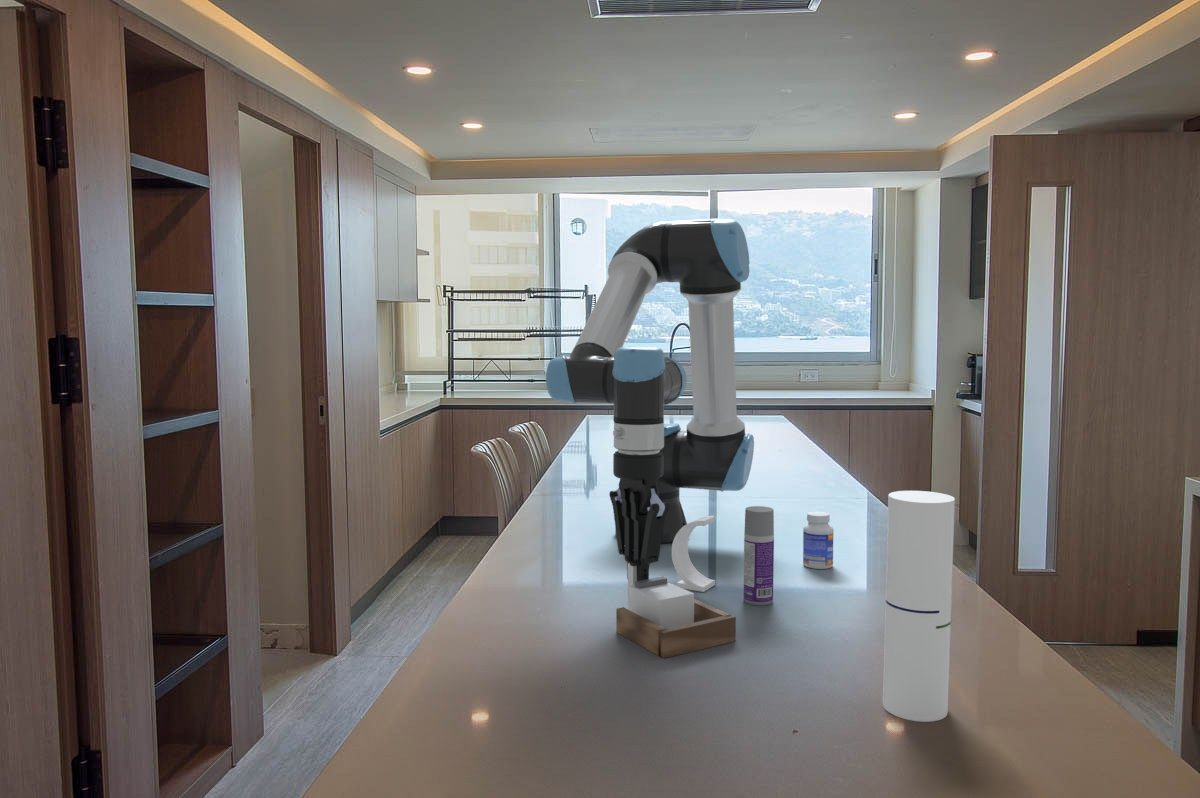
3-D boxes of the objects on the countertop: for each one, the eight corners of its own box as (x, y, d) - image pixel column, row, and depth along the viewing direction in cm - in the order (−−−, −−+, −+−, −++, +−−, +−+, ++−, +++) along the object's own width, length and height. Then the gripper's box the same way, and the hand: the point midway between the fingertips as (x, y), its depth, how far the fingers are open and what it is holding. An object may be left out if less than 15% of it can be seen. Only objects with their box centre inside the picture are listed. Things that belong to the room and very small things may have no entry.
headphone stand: (703, 592, 149) (704, 521, 148) (671, 586, 152) (671, 516, 151) (715, 585, 153) (715, 515, 152) (683, 579, 156) (683, 511, 155)
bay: (616, 632, 130) (616, 608, 130) (685, 617, 136) (685, 594, 136) (663, 658, 120) (663, 632, 120) (735, 641, 126) (735, 616, 126)
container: (774, 597, 146) (776, 507, 144) (770, 606, 141) (772, 513, 140) (746, 595, 147) (747, 505, 146) (741, 603, 143) (742, 511, 141)
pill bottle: (833, 570, 161) (834, 517, 161) (802, 568, 163) (803, 516, 162) (832, 562, 167) (833, 511, 166) (802, 561, 168) (803, 509, 167)
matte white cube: (628, 625, 133) (628, 580, 132) (661, 618, 136) (661, 574, 135) (659, 641, 126) (659, 594, 125) (693, 634, 129) (694, 587, 129)
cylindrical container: (873, 696, 108) (878, 491, 106) (930, 694, 108) (937, 490, 106) (897, 722, 101) (904, 503, 98) (959, 720, 101) (966, 502, 99)
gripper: (594, 447, 137) (594, 597, 139) (641, 458, 126) (640, 621, 128) (635, 443, 141) (635, 590, 143) (684, 454, 130) (683, 612, 132)
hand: (637, 604), depth 136 cm, fingers closed
